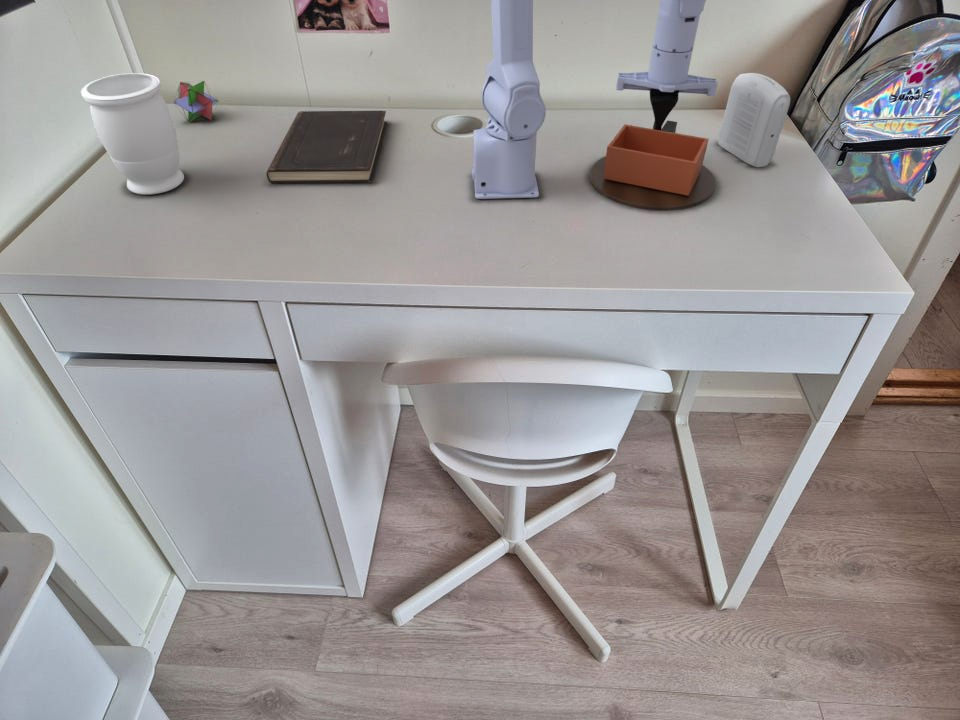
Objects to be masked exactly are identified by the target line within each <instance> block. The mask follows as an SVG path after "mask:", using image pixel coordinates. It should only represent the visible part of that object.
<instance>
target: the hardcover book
mask: <svg viewBox="0 0 960 720" xmlns="http://www.w3.org/2000/svg"><path fill="white" fill-rule="evenodd" d="M386 113H387V111H386V110H310V111H307V110H305V111H303V110H302V111H297V113H296V115H295V117H294V119H293V121H292V123H291V124H290V127H289V129H288V130H287V132H286V134H285V136H284V138H283V140H282V142H281V144H280V146H279V148H278V149H277V152H276V153H275V155H274V157H273V159H272V161H271V163H270V165H269V167H268V169H267V171H266V172H265V173H266V178H267V181H268V182H269V183H270V184H275V185H277V184H371V183H372V182H373V178H374V175H375V171H376V167H377V163H378V159H379V155H380V151H381V148H382V144H383V139H384V136H385V132H386V128H387V125H388V124H387V123H388V121H386V120H385V117H386Z"/></svg>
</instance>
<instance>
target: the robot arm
mask: <svg viewBox="0 0 960 720" xmlns="http://www.w3.org/2000/svg"><path fill="white" fill-rule="evenodd" d="M706 1H707V0H659V7H658V12H657V18H656V25H655V30H654V36H653V40H652V41H653V42H652V48H651V53H650V60H649V61H650V62H649V66H648V71H641V72H640V71H639V72H617V77H616V85H615V90H616V91H624V90H632V91H633V90H634V91H649V101H650V105H651V107H652V112H653V117H654V122H653V126H652V129H655V130H660V131H661V129H662V128H663V126H664V123H665V122H666V119H667V118H668V116H669V115H670V113H671V112H672V111H673V109H674V108H675V107H676V105H677V104H678V102H679V93H681V94H698V95H706V96H707V97H715V96H716V92H717V89H718V79H717V78H711V77H703V76H699V75H692V74H689V71H690V66H691V61H692V56H693V52H694V51H693V50H694V46H695V41H696V36H697V33H698V27H699V21H700V16H701V14H702V12H704V8H705V4H706ZM490 2H491V3H490V5H491V6H490V7H491V33H492V34H491V35H492V36H491V38H492V39H491V40H492V59H491V60H490V61H489V63H487V65H486V68H485V69H486V70H485V71H486V75H485V81H484V83H483V87H482V89H481V94H480V99H481V105H482V107H483V109H484V110H485V111H486V112H487V113H488V119H487V124H486V127H483V128H479V129H478V128H477V129H473V137H472V138H473V140H472V141H473V166H472V167H471V180H472V181H474V198H475V199H477V200H488V199H489V200H490V199H491V200H493V199H523V198H524V199H525V198H526V199H527V198H539V197H540V192H539V187H538V182H537V178H536V155H537V138H538V137H537V135H538V131H539V130H540V129H541V128H542V126H543V124H544V122H545V119H546V115H547V114H546V113H547V109H546V104H545V101H544V100H543V98H542V95H541V88H540V87H541V82H540V79H539V75H538V73H537V70H536V67H535V64H534V58H533V56H534V54H533V53H534V49H533V48H534V46H533V45H534V0H490Z"/></svg>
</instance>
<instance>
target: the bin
mask: <svg viewBox="0 0 960 720" xmlns="http://www.w3.org/2000/svg"><path fill="white" fill-rule="evenodd" d="M664 123H665V124H663V125H662V128H661V131H660V130H655V129H653V128H647V127H643V126H637V125H631V124H623V125H622V127H621V128H620V129H619V131H618V132H617V133H616V135H615V136H614V137H613V139H612V140H611V141H610V142H609V144H608V145H607V146H606V153H605V156H606V161H605V169H604V176H603V179H608V180H613V181H618V182H623V183H627V184H632V185H637V186H642V187H647V188H652V189H657V190H662V191H667V192H672V193H677V194H682V195H687V196H689V194H690V192H691V190H692V188H693V186H694V184H695V182H696V180H697V178H698V176H699V174H700V172H701V170H702V165H703V164H704V161H705V157H706V153H707V148H708V144H709V138H707V137H701V136H694V135H689V134H683V133H678V132H676V131H677V127H678V126H677V125H678V121H673V120H666V121H665V122H664ZM703 166H704V165H703Z"/></svg>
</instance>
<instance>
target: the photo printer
mask: <svg viewBox="0 0 960 720" xmlns="http://www.w3.org/2000/svg"><path fill="white" fill-rule="evenodd" d="M790 105H791V96H790V94H789V92H788V91H787V90H786V89H785V87H783V86H782V85H781V84H780V83H778V82H777V81H776V80H774V79H773V78H771V77H770V76H767V75H764V74H761V73H758V72H746V73H740V74H739V75H738V76H737V77H736V78H735V79H734V81H733V82H732V84H731V88H730V91H729V94H728V99H727V102H726V107H725V110H724V115H723V118H722V122H721V126H720V129H719V133H718V138H717V145H718V146H720V147H721V148H723V149H724V150H726V151H727V152H729V153H730V154H732V155H734V156H735V157H737V158H738V159H739V160H741V161H742V162H745V163H746V164H748V165H750V166H753V167H754V168H764V167H767V166H768V165H769V164H770V163H771V162H772V160H773V157H774V156H775V155H774V154H775V152H776V149H777V146H778V142H779V139H780V137H781V133H782V129H783V126H784V123H785V121H786V119H787V118H786V117H787V115H788V111H789V108H790Z"/></svg>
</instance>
